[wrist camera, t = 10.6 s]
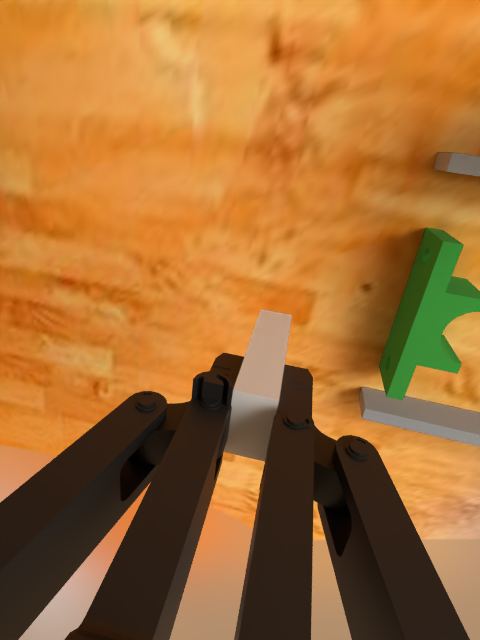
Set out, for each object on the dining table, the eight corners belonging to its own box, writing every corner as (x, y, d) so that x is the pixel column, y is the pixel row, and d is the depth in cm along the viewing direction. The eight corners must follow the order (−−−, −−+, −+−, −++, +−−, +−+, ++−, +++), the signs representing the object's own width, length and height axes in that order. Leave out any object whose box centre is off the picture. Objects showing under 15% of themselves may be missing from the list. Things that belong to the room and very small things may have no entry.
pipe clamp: (426, 374, 30) (441, 409, 26) (378, 363, 31) (385, 397, 27) (483, 235, 25) (513, 253, 21) (425, 226, 26) (443, 241, 22)
